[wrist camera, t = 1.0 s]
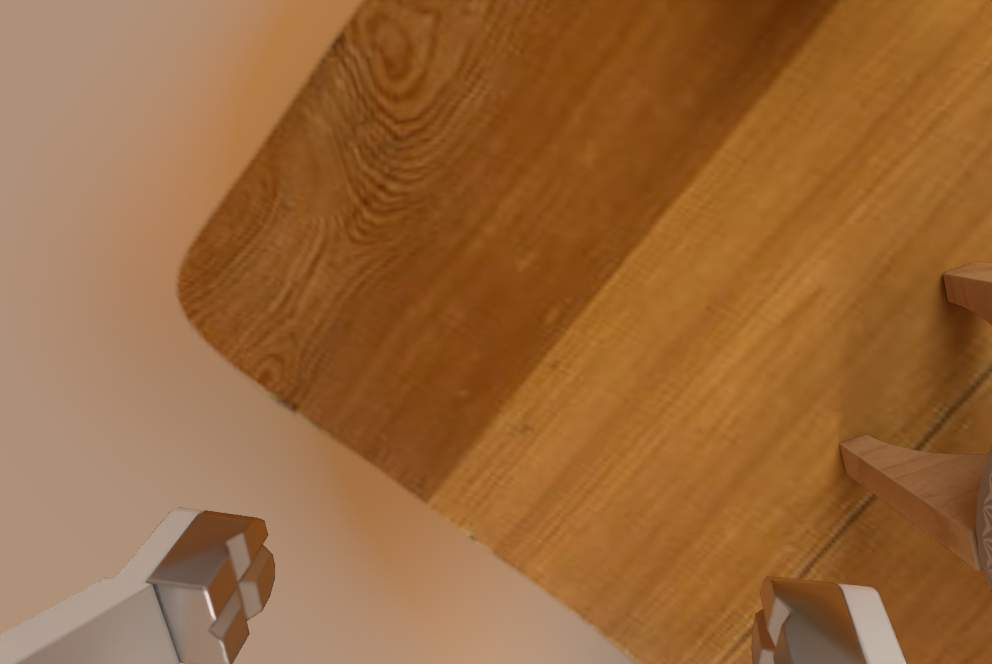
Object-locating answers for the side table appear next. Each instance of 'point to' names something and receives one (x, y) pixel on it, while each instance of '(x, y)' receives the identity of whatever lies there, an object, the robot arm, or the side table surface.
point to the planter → (937, 462)
